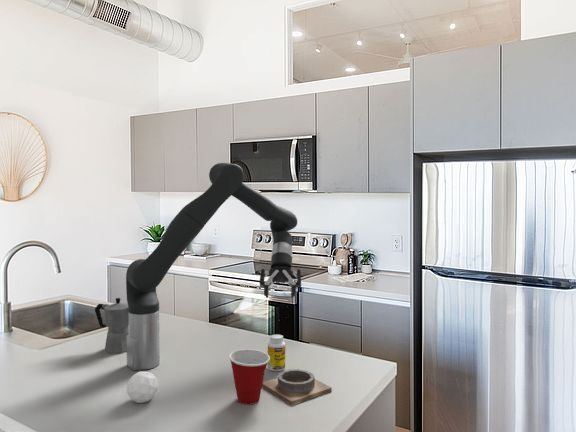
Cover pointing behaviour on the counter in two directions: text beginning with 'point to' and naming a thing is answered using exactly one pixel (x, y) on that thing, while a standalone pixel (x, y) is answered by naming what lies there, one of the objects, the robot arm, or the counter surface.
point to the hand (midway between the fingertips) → (279, 296)
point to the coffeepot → (115, 325)
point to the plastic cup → (248, 373)
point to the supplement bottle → (276, 353)
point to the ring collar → (296, 386)
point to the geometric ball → (142, 387)
